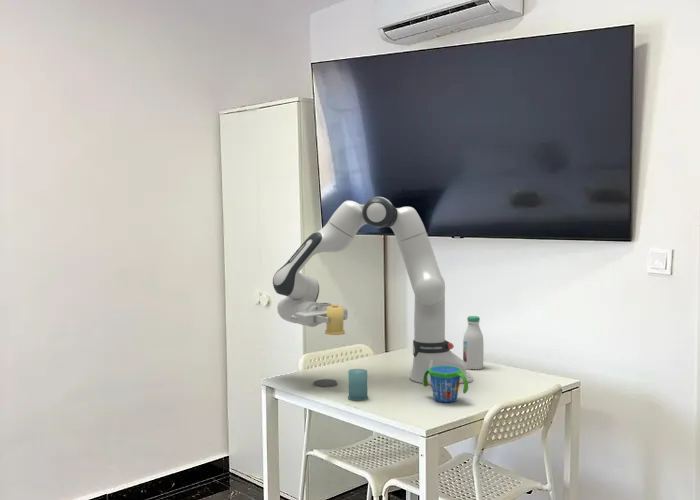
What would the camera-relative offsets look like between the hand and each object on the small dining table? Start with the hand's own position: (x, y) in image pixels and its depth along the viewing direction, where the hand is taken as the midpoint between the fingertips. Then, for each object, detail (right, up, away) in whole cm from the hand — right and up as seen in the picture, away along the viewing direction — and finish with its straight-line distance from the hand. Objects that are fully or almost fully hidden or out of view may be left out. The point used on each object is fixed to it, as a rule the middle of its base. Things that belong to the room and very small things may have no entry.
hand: (336, 319), depth 239 cm
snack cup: (+36, -25, -12) cm, 45 cm away
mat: (-4, -24, +9) cm, 26 cm away
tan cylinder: (-1, -5, +1) cm, 5 cm away
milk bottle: (+52, -22, +31) cm, 65 cm away
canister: (+7, -25, -9) cm, 28 cm away
